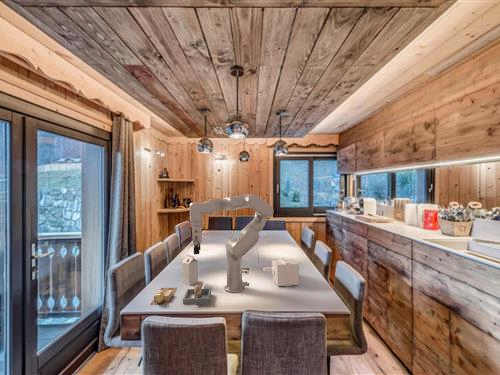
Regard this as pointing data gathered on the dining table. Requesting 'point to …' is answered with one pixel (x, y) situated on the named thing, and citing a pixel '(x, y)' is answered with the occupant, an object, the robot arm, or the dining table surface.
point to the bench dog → (160, 298)
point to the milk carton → (190, 270)
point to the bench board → (165, 301)
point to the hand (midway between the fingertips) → (197, 252)
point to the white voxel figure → (284, 272)
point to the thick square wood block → (167, 294)
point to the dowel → (197, 291)
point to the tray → (200, 301)
